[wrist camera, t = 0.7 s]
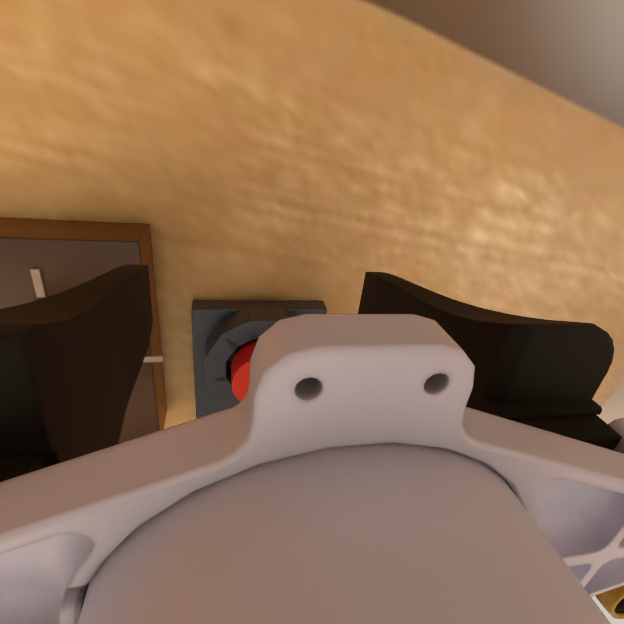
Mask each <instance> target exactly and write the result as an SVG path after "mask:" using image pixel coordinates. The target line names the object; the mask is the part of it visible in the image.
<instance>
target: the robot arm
mask: <svg viewBox="0 0 624 624" xmlns="http://www.w3.org/2000/svg"><path fill="white" fill-rule="evenodd" d="M152 326H153V316H152V304H151V293H150V282H149V270H148V265H132V264H126V265H122V266H120V267H117V268H115V269H113V270H111V271H108V272H106V273H104V274H102V275H100V276H98V277H96V278H94V279H92V280H89V281H87V282H85V283H82V284H80V285H78V286H75V287H73V288H71V289H68V290H66V291H63V292H61V293H58V294H55V295H52V296H49V297H46V298H43V299H39V300H36V301H33V302H29V303H25V304H21V305H16V306H12V307H7V308H3V309H0V624H610V622H609V621H608V619H607V618H606V617H605V615H604V614H603V613H602V611H601V610H600V609H599V607H598V606H597V605H596V603H595V602H594V600H593V599H592V598H591V597H592V596H595V595H597V594H600V593H603V592H606V591H609V590H612V589H614V588H617V587H620V586H623V585H624V418H620V419H617V420H614V421H612V422H611V423H609V424H606V423H605V422H604V421H603V420H602V419H600V418H599V417H598V416H597V414H600V413H601V411H602V408H601V406H599V405H598V404H597V403H596V402H594V401H593V400H592V398H593V396H594V394H595V393H596V391H597V389H598V387H599V386H600V384H601V382H602V380H603V379H604V377H605V375H606V373H607V372H608V369H609V367H610V365H611V363H612V359H613V354H614V346H613V340H612V338H611V337H610V336H609V334H608V333H607V332H606V331H604V330H602V329H601V328H599V327H598V326H596V325H595V324H592V323H580V322H567V321H554V320H544V319H536V318H529V317H522V316H516V315H511V314H506V313H501V312H496V311H492V310H487V309H483V308H479V307H476V306H473V305H469V304H466V303H462V302H459V301H456V300H453V299H451V298H448V297H445V296H443V295H440V294H437V293H435V292H432V291H430V290H428V289H425V288H423V287H420V286H418V285H416V284H413V283H411V282H409V281H406V280H404V279H402V278H399V277H397V276H394V275H391V274H388V273H383V272H366V274H365V280H364V285H363V290H362V295H361V301H360V306H359V311H358V314H303V315H299V316H295V317H290V318H286V319H282V320H279V321H278V322H277V323H275V324H274V325H273V326H272V327H270V328H269V329H268V330H267V331H265V332H264V333H263V334H262V335H261V336H259V338H258V340H257V343H256V346H255V349H254V351H253V354H252V357H251V360H250V381H249V387H248V392H247V394H246V396H245V398H244V399H243V400H242V401H241V402H240V403H239V404H238V405H236V406H235V407H232V408H229V409H226V410H223V411H220V412H217V413H214V414H210V415H207V416H204V417H201V418H198V419H195V420H192V421H189V422H186V423H183V424H179V425H176V426H173V427H170V428H167V429H164V430H161V431H158V432H155V433H151V434H148V435H145V436H142V437H139V438H136V439H133V440H130V441H127V442H124V443H120V444H119V439H120V435H121V430H122V426H123V421H124V417H125V412H126V409H127V406H128V402H129V399H130V396H131V393H132V391H133V388H134V385H135V383H136V380H137V377H138V375H139V372H140V369H141V366H142V364H143V361H144V358H145V355H146V353H147V350H148V347H149V342H150V337H151V332H152Z"/></svg>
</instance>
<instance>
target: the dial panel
mask: <svg viewBox="0 0 624 624" xmlns="http://www.w3.org/2000/svg"><path fill="white" fill-rule="evenodd" d="M126 264H132V265H148V270H149V282H150V293H151V304H152V316H153V326H152V332H151V337H150V342H149V347H148V350H147V353H146V355H145V358H144V361H143V364H142V366H141V369H140V372H139V375H138V377H137V380H136V383H135V385H134V388H133V391H132V393H131V396H130V399H129V402H128V406H127V409H126V412H125V417H124V421H123V426H122V430H121V435H120V439H119V444H120V443H124V442H127V441H130V440H133V439H136V438H139V437H142V436H145V435H148V434H151V433H155V432H158V431H161V430H164V424H165V419H166V413H167V406H166V396H165V385H164V374H163V364H162V362H163V361H164V358H163V355H162V353H161V342H160V332H159V321H158V310H157V300H156V289H155V278H154V267H153V257H152V246H151V235H150V226H149V225H148V224H131V223H108V222H85V221H63V220H40V219H17V218H0V309H3V308H7V307H12V306H16V305H21V304H25V303H29V302H33V301H36V300H39V299H43V298H46V297H49V296H52V295H55V294H58V293H61V292H63V291H66V290H68V289H71V288H73V287H75V286H78V285H80V284H82V283H85V282H87V281H89V280H92V279H94V278H96V277H98V276H100V275H102V274H104V273H106V272H108V271H111V270H113V269H115V268H117V267H120V266H122V265H126Z"/></svg>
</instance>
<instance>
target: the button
mask: <svg viewBox="0 0 624 624" xmlns="http://www.w3.org/2000/svg"><path fill="white" fill-rule="evenodd" d="M256 343H257V341H255V342H252V343H249V344H247V345H245V346H244V347H242V348H241V349H240V350H239V351H238V352H237V353H236V354H235V356H234V358H233V360H232V363H231V383H232V391H233V393H234V395H235V396H236V398H237V399H238V400H239V401H240V402H241V401H242V400H243V399H244V398H245V396H246V394H247V392H248V387H249V381H250V360H251V357H252V354H253V351H254V349H255V346H256Z"/></svg>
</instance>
